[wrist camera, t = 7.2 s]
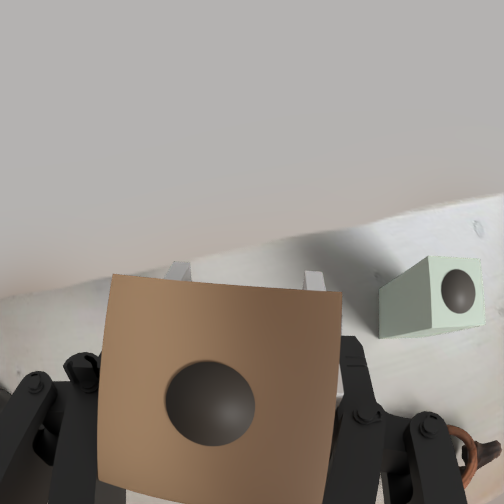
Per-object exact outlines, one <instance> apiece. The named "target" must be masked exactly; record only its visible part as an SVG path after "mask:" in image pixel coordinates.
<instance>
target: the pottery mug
mask: <svg viewBox="0 0 504 504" xmlns="http://www.w3.org/2000/svg"><path fill="white" fill-rule="evenodd" d="M447 428H448V431H449V434H450V435H453V436H456V437H458V438H459V439H461V440H462V441H463V442H464V444H465V445H463V446H462V459H463V461H464V462H465V466H461V467H460V466H459V470H460V474H461V478H462V482H463V486H464V489H465V488H466V487H467V485H468V484H469V483H470V481H471V479H472V477H473V476H474V474H475V472H476V471H477V470H478V469H479V468H481V467H482V466H484V465H486V464H487V463H489V462H491V461H492V460H493V459H495V458H497V457H498V456H500V453H501V451H502V449H501V444H500V443H499V442H498V441H497V440H496V441H493V442H489V443H485V444H481V443H478V442H477V441H473V439H472V437H471V436H470V435H469V434H468V433H467V432H466V431H464V430H463V429H461V428H459V427H455V426H452V425H447Z"/></svg>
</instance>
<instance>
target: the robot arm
mask: <svg viewBox="0 0 504 504" xmlns="http://www.w3.org/2000/svg"><path fill="white" fill-rule="evenodd" d="M164 279H168V280H179V281H190V282H192V280H191V267H190V263H189V262H176V261H174V262H173V264H172V266H171V267H170V269H169V271H168V272H167V274H166V276H165V277H164ZM303 290H314V291H326V288H325V283H324V278H323V273H322V272H318V271H305V275H304V282H303ZM101 356H102V352H101V353H100V355H99V357H98V356H96V355H94V354H93V353H88V352H83V353H77V354H75V355H73V356H71V357H70V358H69V359H67V360H66V362H65V363H64V365H63V368H64V370H65V372H66V374H67V376H68V377H69V379H70V381H52V380H51V378H50V377H49V375H48V374H47V373H45V372H42V371H35V372H31V373H30V374H28V375H26V376H25V377H24V378H23V379H22V381H21V382H20V384H19V385H18V387H17V388H16V390H15V391H14V393H13V394H12V396H11V395H10V394H9V393H7V392H6V391H4V390H2V389H0V504H47V502H48V504H126V489H124V488H120V487H117V486H114V485H111V484H108V483H105V482H102V481H100V480H99V479H98V460H97V423H98V396H99V380H100V367H101ZM380 471H381V478H382V486H383V495H384V504H467V500H466V495H465V491H464V486H463V482H462V478H461V474H460V470H459V466H458V462H457V459H456V455H455V451H454V448H453V444H452V441H451V438H450V434H449V431H448V428H447V425H446V423H445V421H444V419H442V418H441V417H440V416H439V415H438V414H435V413H433V412H426V411H424V412H421V413H418V414H416V415H415V416H414V417H413V418H412V419H408V418H403V417H399V416H394V415H391V414H389V413H387V412H385V411H384V409H383V408H382V406H381V405H380V404H378V403H377V402H376V399H375V396H374V392H373V388H372V383H371V379H370V375H369V371H368V367H367V362H366V358H365V354H364V350H363V346H362V345H361V343H360V342H359V341H358V340H357V338H356V337H355V336H341V341H340V358H339V373H338V385H337V397H336V407H335V417H334V426H333V434H332V442H331V450H330V457H329V464H328V471H327V477H326V483H325V489H324V495H323V501H322V504H375V502H376V496H377V491H378V484H379V478H380Z"/></svg>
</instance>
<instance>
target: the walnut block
mask: <svg viewBox="0 0 504 504" xmlns="http://www.w3.org/2000/svg"><path fill="white" fill-rule="evenodd" d="M341 318H342V292H332V291H314V290H297V289H281V288H266V287H252V286H238V285H226V284H213V283H201V282H190V281H179V280H168V279H158V278H147V277H138V276H128V275H119V274H113V276H112V282H111V287H110V294H109V300H108V307H107V314H106V321H105V329H104V337H103V346H102V356H101V367H100V380H99V396H98V423H97V460H98V479H99V480H100V481H102V482H105V483H108V484H111V485H114V486H117V487H120V488H124V489H127V490H130V491H134V492H137V493H141V494H145V495H148V496H152V497H156V498H161V499H165V500H169V501H174V502H179V503H184V504H322V501H323V495H324V489H325V483H326V477H327V471H328V464H329V457H330V450H331V442H332V434H333V426H334V417H335V407H336V397H337V385H338V373H339V358H340V341H341Z"/></svg>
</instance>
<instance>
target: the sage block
mask: <svg viewBox="0 0 504 504" xmlns="http://www.w3.org/2000/svg"><path fill="white" fill-rule="evenodd" d="M483 325H485V303H484V290H483V279H482V270H481V262H480V259H475V258H458V257H441V256H427V257H426V258H424V259H423V260H421V261H420V262H419V263H417V264H416V265H414V266H413V267H411V268H410V269H408V270H407V271H406V272H404V273H403V274H401V275H400V276H398V277H397V278H395V279H394V280H392V281H391V282H389V283H388V284H386V285H385V286H383V287H382V288H380V289H379V339H399V338H423V337H429V336H434V335H440V334H445V333H450V332H455V331H460V330H465V329H469V328H474V327H479V326H483Z"/></svg>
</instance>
